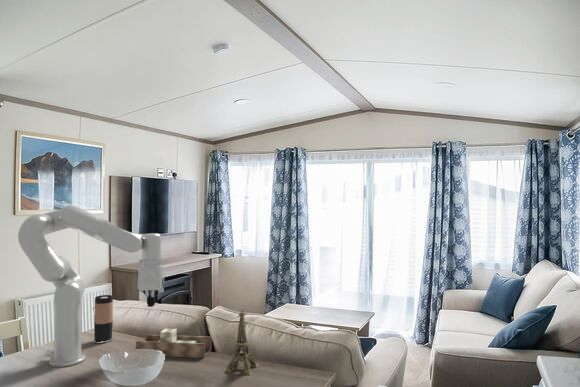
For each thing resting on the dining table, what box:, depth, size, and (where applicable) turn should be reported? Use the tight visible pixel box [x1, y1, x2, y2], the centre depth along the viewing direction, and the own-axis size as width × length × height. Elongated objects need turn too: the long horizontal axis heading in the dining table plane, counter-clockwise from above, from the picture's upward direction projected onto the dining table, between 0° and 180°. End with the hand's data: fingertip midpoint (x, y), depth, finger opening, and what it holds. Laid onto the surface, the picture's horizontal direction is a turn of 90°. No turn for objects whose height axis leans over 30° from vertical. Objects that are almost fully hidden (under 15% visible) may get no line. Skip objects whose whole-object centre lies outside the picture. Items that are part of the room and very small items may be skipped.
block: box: [159, 328, 178, 342], centre depth 170 cm, size 5×5×5 cm
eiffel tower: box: [222, 310, 260, 376], centre depth 153 cm, size 11×11×25 cm
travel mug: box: [93, 294, 114, 342], centre depth 185 cm, size 8×8×20 cm
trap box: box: [135, 334, 212, 359], centre depth 170 cm, size 29×10×6 cm, turn 84°
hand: (151, 306), depth 172 cm, fingers closed
